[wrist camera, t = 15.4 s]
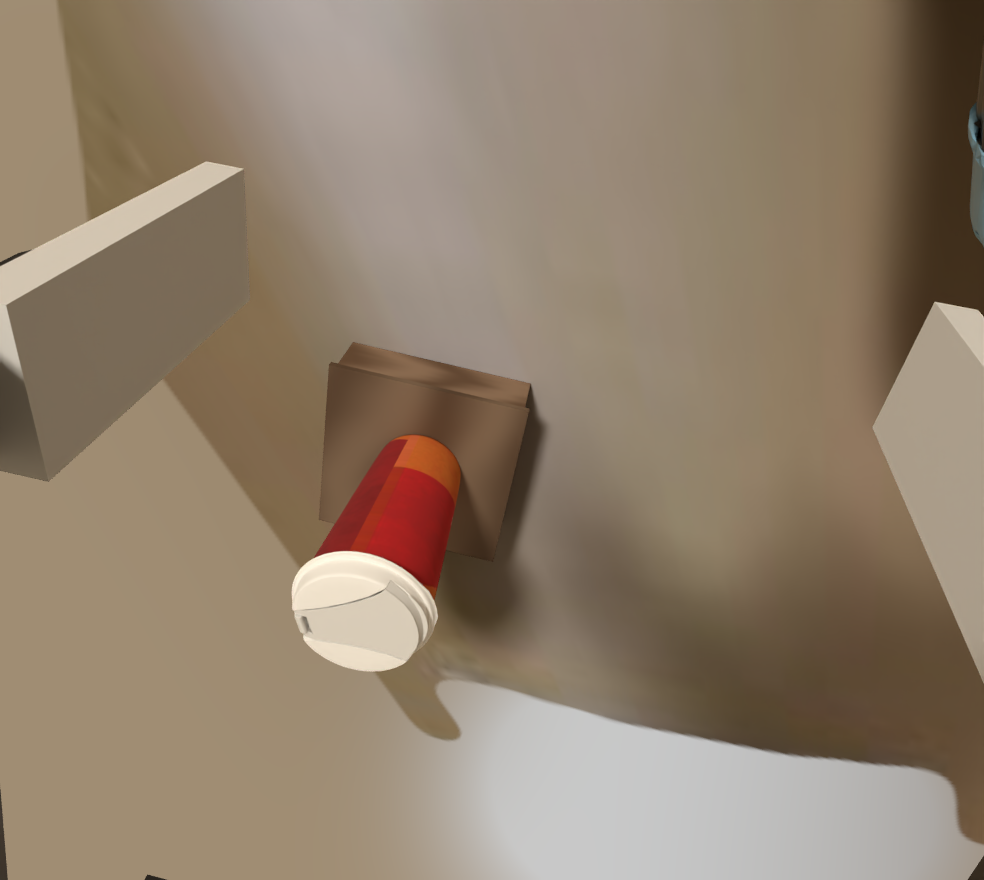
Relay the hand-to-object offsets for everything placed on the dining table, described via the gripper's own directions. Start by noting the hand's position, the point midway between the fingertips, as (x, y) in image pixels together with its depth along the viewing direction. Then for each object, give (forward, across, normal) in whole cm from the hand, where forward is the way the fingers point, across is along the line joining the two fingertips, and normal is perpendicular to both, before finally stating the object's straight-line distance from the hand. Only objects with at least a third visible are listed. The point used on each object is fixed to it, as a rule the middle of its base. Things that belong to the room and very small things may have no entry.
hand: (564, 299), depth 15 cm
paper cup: (+26, -8, -25) cm, 37 cm away
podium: (+30, -8, -25) cm, 40 cm away
